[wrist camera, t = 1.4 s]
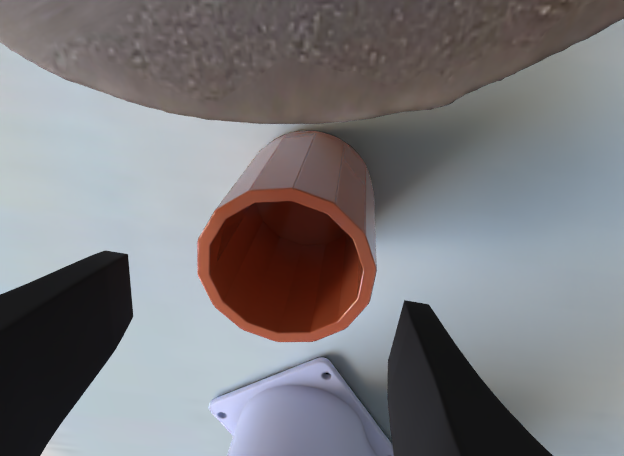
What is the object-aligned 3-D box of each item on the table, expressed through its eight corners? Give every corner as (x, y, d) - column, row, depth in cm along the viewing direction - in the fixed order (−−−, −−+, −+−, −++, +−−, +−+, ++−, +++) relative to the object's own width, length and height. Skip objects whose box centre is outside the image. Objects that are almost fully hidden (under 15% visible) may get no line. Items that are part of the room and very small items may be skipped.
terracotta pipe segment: (396, 213, 19) (408, 304, 13) (290, 264, 21) (261, 364, 15) (332, 104, 17) (314, 152, 11) (223, 170, 19) (160, 241, 13)
